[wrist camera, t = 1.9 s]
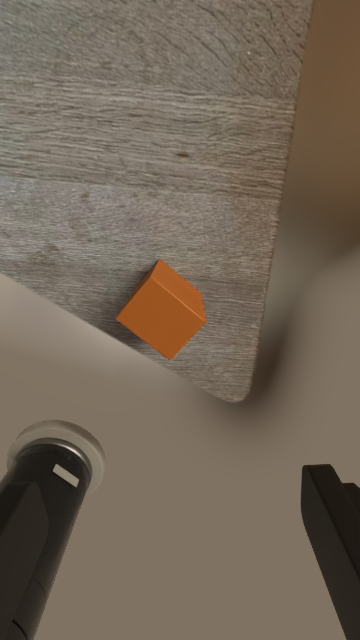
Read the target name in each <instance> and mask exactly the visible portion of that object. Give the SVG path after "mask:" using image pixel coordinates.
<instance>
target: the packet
mask: <svg viewBox="0 0 360 640" xmlns="http://www.w3.org/2000/svg"><path fill="white" fill-rule="evenodd" d="M115 319H116V320H117V321H119V322H120V323H121V324H123V325H124V326H125V327H126V328H128V329H129V330H130V331H132V332H133V333H134V334H136V335H137V336H138V337H139V338H141V339H142V340H143V341H145V342H146V343H147V344H149V345H150V346H151V347H152V348H154V349H155V350H156V351H158V352H159V353H160V354H162V355H163V356H164V357H165V358H167V359H168V360H171V359H172V358H173V357H174V356H175V354H176V353H177V352H178V351H179V350H180V349H181V348H182V347H183V346H184V345H185V344H186V343H187V342H188V340H189V339H190V338H191V337H192V336H193V335H194V334H195V333H196V332H197V331H198V330H199V329H200V328H201V326H202V325H203V324H204V323H205V322H206V321H205V315H204V309H203V303H202V297H201V293H200V292H198V291H197V290H196V289H195V288H194V287H193V286H191V285H190V284H189V283H188V282H187V281H185V280H184V279H183V278H182V277H181V276H179V275H178V274H177V273H176V272H175V271H174V270H172V269H171V268H170V267H169V266H168V265H166V264H165V263H164V262H163V261H162V260H160V259H159V260H158V261H157V262H156V264H155V265H154V266H153V267H152V269H151V270H150V271H149V272H148V273H147V275H146V276H145V277H144V278H143V280H142V281H141V282H140V283H139V284H138V286H137V287H136V288H135V289H134V290H133V292H132V293H131V295H130V296H129V298H128V300H127V301H126V303H125V304H124V306H123V307H122V309H121V310H120V312H119V313H118V315H117V317H116V318H115Z"/></svg>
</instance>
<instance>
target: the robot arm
mask: <svg viewBox="0 0 360 640" xmlns="http://www.w3.org/2000/svg"><path fill="white" fill-rule="evenodd" d="M91 479H92V466H91V463H90V460H89V458H88V457H87V455H86V454H85V453H84V452H83V451H82V450H81V449H80V448H79V447H77V446H76V445H74V444H72V443H70V442H68V441H66V440H63V439H58V438H40V439H36V440H34V441H31V442H30V443H28V444H27V445H25V446H24V447H23V448H22V449H21V451H20V452H19V454H18V455H17V457H16V458H15V461H14V463H13V464H12V466H11V467H10V468H9V470H8V472H7V473H6V475H5V476H4V477H3V479H2V480H1V482H0V640H34V637H35V634H36V631H37V628H38V626H39V623H40V620H41V617H42V614H43V612H44V609H45V605H46V603H47V600H48V597H49V594H50V591H51V588H52V586H53V583H54V580H55V577H56V574H57V572H58V568H59V566H60V563H61V560H62V557H63V555H64V552H65V549H66V546H67V544H68V541H69V538H70V535H71V532H72V530H73V527H74V524H75V521H76V518H77V515H78V513H79V510H80V507H81V504H82V501H83V499H84V496H85V493H86V491H87V489H88V487H89V484H90V482H91ZM301 513H302V518H303V523H304V526H305V529H306V532H307V535H308V537H309V540H310V542H311V545H312V548H313V551H314V553H315V556H316V559H317V561H318V564H319V567H320V569H321V572H322V575H323V578H324V580H325V583H326V586H327V588H328V591H329V594H330V596H331V599H332V602H333V605H334V607H335V610H336V613H337V615H338V618H339V621H340V623H341V626H342V629H343V631H344V634H345V637H346V639H347V640H360V488H359V487H357V485H355V484H354V483H342V482H341V481H340V479H339V477H338V475H337V474H336V472H335V470H334V468H333V467H332V466H331V465H330V464H322V465H321V464H320V465H304V466H303V468H302V485H301Z"/></svg>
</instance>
